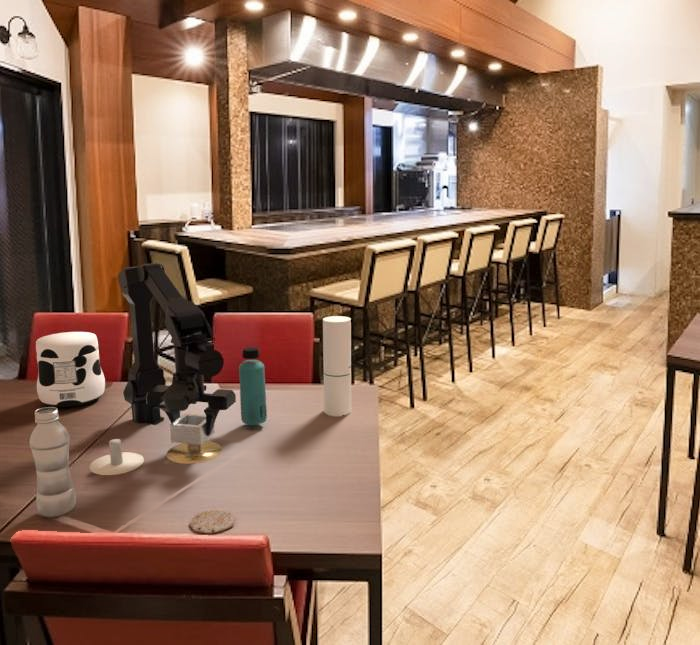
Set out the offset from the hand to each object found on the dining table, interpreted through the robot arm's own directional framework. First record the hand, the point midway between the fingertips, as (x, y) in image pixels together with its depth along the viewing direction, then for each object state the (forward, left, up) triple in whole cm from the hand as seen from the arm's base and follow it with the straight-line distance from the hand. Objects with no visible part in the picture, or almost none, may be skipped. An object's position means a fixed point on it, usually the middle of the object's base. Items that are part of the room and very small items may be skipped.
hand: (193, 433), depth 140 cm
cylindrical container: (+16, +38, -5) cm, 42 cm away
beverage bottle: (+2, +20, -5) cm, 21 cm away
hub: (0, 0, -5) cm, 5 cm away
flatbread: (+22, -21, -5) cm, 31 cm away
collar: (0, 0, -1) cm, 1 cm away
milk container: (-54, +13, -5) cm, 56 cm away
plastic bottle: (-6, -31, -5) cm, 32 cm away
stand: (-11, -12, -5) cm, 17 cm away
